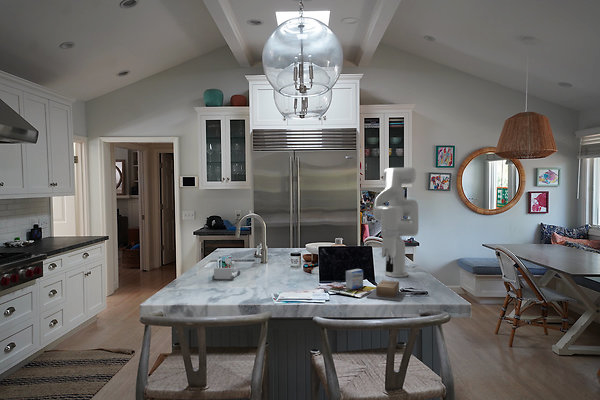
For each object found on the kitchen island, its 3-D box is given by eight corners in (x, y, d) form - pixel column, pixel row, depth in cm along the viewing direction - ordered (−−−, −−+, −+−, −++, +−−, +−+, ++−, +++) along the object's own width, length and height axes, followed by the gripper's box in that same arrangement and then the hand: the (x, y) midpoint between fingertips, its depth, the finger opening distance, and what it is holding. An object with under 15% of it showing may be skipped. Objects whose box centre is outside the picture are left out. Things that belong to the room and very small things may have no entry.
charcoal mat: (374, 290, 192) (374, 289, 192) (406, 293, 186) (406, 292, 186) (366, 298, 180) (366, 296, 180) (400, 301, 173) (400, 300, 173)
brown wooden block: (382, 280, 192) (376, 286, 181) (398, 281, 189) (393, 287, 178) (382, 289, 192) (376, 295, 181) (399, 290, 189) (393, 297, 178)
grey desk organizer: (222, 257, 235) (241, 257, 233) (222, 273, 235) (241, 274, 234) (211, 263, 217) (232, 263, 215) (212, 281, 217) (232, 281, 216)
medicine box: (351, 289, 194) (351, 272, 194) (345, 287, 198) (345, 270, 198) (363, 286, 199) (363, 269, 199) (357, 285, 203) (357, 268, 202)
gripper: (384, 231, 196) (385, 268, 196) (377, 234, 182) (377, 274, 183) (400, 231, 193) (400, 269, 193) (394, 235, 179) (394, 275, 180)
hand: (389, 271), depth 188 cm, fingers closed
